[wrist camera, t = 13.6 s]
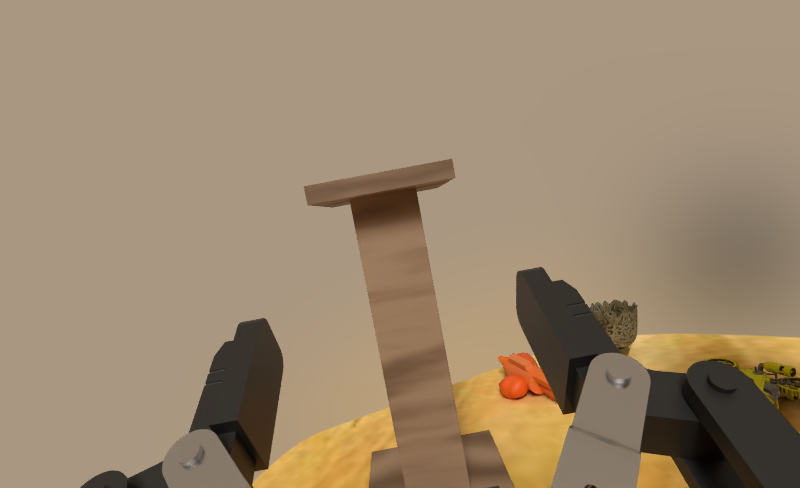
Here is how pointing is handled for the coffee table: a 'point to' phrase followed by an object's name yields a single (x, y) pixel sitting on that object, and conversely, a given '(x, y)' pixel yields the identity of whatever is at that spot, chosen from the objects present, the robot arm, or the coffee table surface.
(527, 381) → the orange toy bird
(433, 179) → the stand
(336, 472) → the coffee table surface
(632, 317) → the cup
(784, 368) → the toy motorcycle
